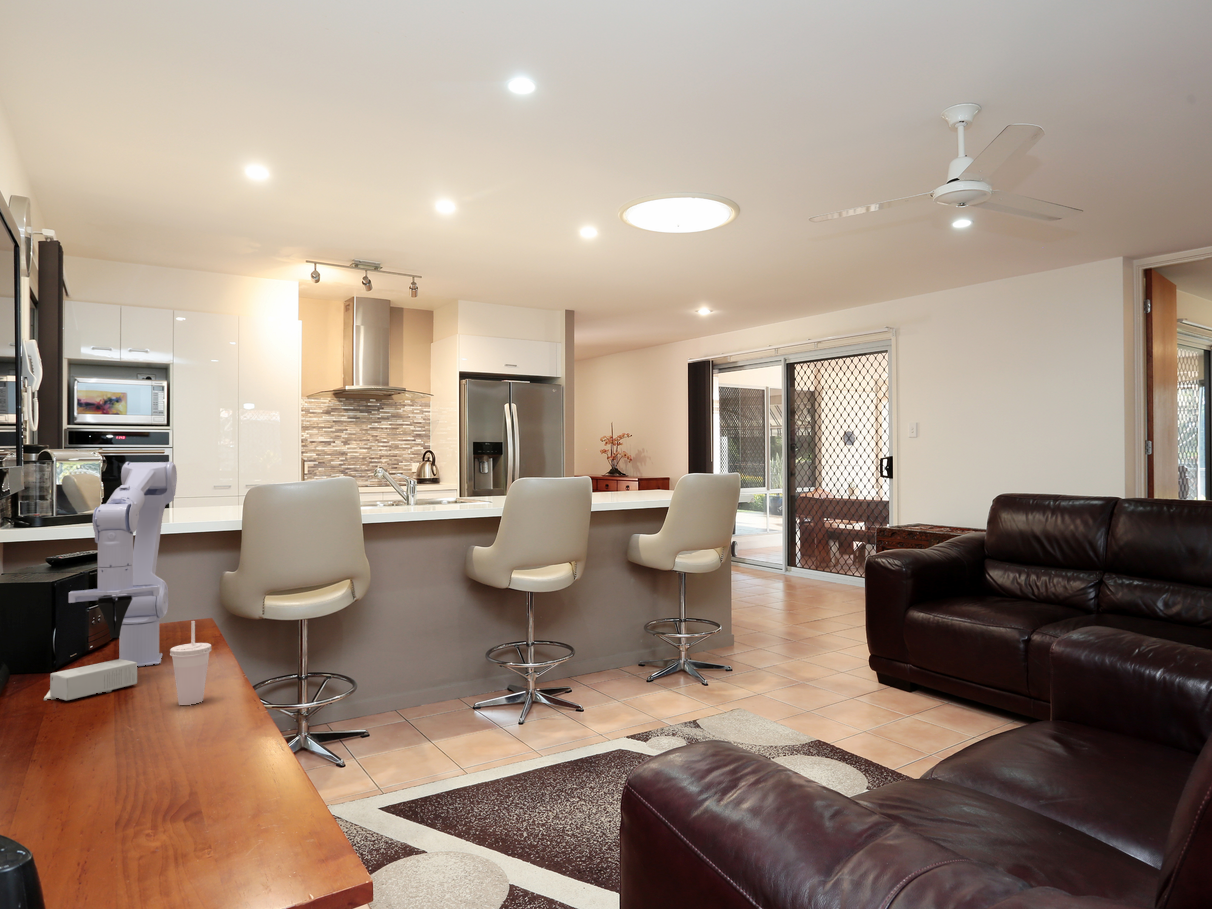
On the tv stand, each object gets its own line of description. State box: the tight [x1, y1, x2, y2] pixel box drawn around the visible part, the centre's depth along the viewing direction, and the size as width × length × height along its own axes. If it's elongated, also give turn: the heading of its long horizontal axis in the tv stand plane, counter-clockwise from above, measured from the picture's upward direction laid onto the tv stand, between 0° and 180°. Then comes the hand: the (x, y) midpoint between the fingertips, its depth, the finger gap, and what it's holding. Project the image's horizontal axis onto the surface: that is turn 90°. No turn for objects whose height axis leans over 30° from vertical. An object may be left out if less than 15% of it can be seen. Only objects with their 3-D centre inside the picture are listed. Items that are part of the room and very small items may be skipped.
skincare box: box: [49, 658, 138, 702], centre depth 136 cm, size 6×4×12 cm
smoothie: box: [169, 620, 213, 706], centre depth 129 cm, size 6×6×14 cm
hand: (115, 636), depth 142 cm, fingers closed
